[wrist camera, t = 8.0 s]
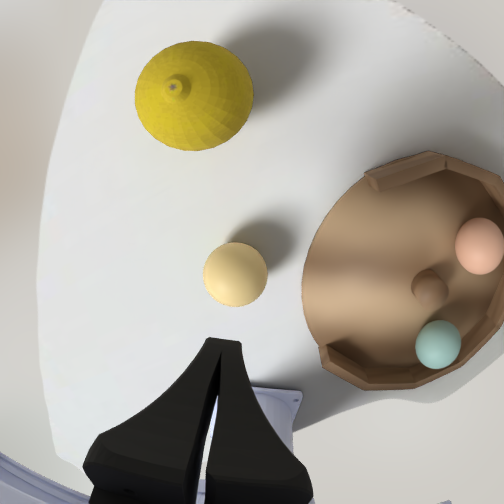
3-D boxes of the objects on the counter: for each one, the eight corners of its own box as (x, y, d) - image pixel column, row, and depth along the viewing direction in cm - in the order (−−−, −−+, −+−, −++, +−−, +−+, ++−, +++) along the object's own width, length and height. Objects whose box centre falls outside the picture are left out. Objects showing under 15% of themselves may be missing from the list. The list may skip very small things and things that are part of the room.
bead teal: (437, 348, 24) (454, 377, 20) (402, 347, 24) (417, 380, 20) (455, 311, 22) (476, 339, 18) (419, 309, 22) (439, 339, 18)
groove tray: (458, 369, 25) (467, 384, 23) (280, 367, 25) (280, 387, 23) (531, 190, 18) (549, 197, 16) (330, 124, 17) (339, 124, 15)
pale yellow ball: (237, 269, 23) (272, 306, 21) (189, 286, 21) (222, 328, 18) (247, 224, 21) (287, 260, 18) (193, 238, 18) (231, 281, 16)
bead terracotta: (475, 262, 20) (502, 286, 17) (439, 256, 20) (465, 282, 16) (490, 215, 19) (521, 234, 15) (454, 205, 19) (485, 223, 15)
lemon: (261, 63, 16) (258, 23, 9) (249, 149, 18) (238, 167, 11) (172, 58, 16) (116, 25, 9) (162, 141, 18) (101, 156, 11)
